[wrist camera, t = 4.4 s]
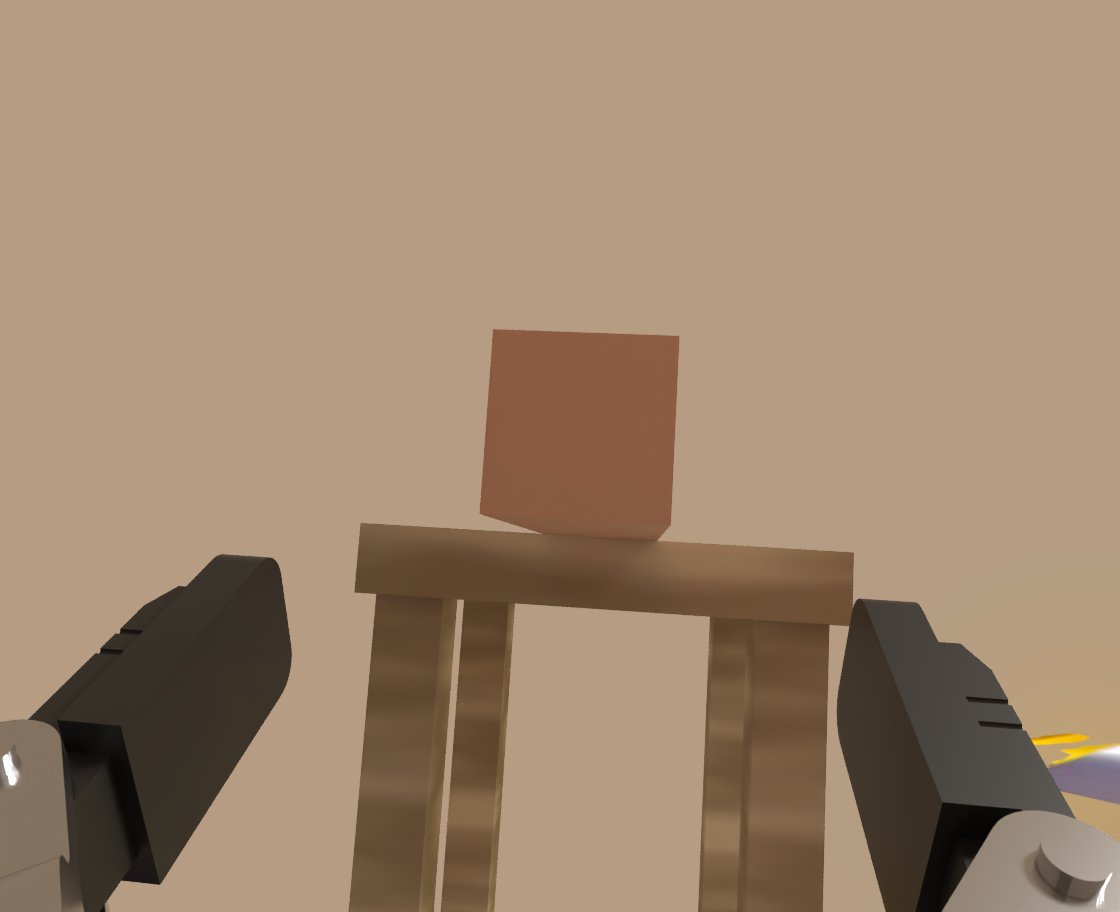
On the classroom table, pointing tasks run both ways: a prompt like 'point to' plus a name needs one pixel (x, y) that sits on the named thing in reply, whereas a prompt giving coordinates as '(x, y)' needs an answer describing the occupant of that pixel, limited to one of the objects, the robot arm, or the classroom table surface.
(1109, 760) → the classroom table surface
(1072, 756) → the classroom table surface
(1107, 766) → the classroom table surface
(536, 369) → the brown rectangular block
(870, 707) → the robot arm
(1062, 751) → the classroom table surface
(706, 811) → the tall stand
